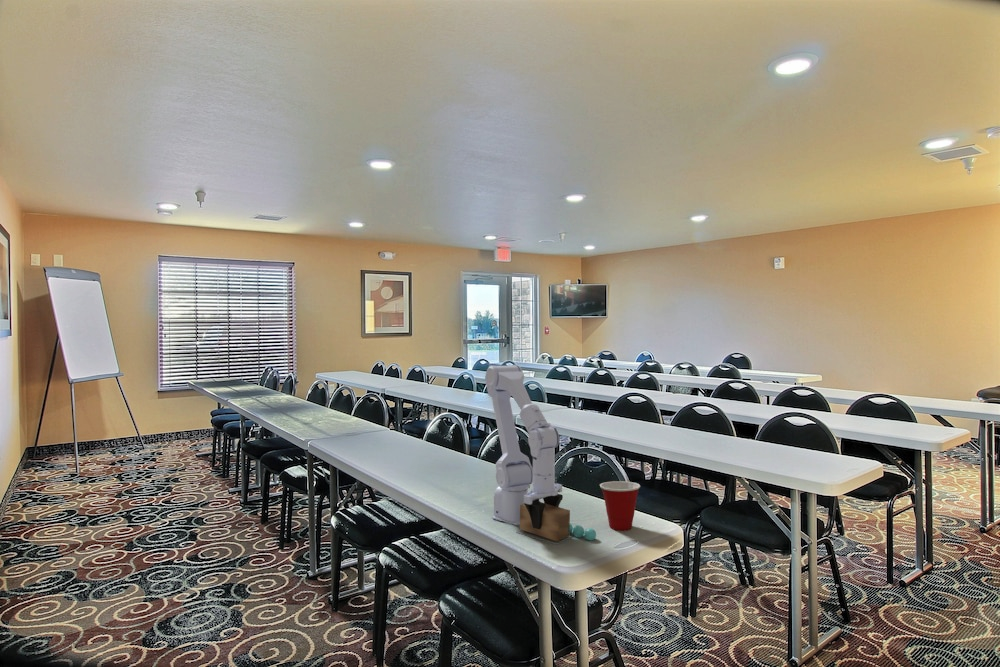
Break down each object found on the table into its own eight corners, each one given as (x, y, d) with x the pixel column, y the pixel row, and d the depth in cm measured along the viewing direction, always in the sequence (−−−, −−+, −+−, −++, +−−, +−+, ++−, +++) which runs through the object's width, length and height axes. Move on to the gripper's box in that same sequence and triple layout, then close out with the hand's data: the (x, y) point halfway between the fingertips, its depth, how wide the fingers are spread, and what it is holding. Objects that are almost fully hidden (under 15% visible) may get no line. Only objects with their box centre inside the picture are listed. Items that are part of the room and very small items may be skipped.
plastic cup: (622, 518, 158) (621, 476, 158) (648, 530, 149) (648, 485, 148) (591, 525, 153) (591, 481, 153) (617, 537, 143) (617, 491, 143)
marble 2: (570, 537, 144) (570, 525, 144) (576, 534, 146) (576, 522, 146) (580, 540, 142) (580, 528, 142) (586, 536, 144) (586, 525, 144)
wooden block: (519, 529, 147) (520, 504, 146) (532, 523, 151) (532, 499, 151) (557, 541, 139) (558, 515, 139) (569, 535, 143) (570, 510, 143)
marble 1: (559, 534, 146) (559, 522, 146) (565, 531, 148) (565, 519, 148) (568, 536, 144) (568, 525, 144) (575, 533, 146) (575, 522, 146)
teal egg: (582, 540, 142) (582, 528, 142) (588, 537, 144) (588, 525, 144) (592, 543, 140) (592, 531, 140) (598, 540, 142) (598, 528, 142)
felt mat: (515, 533, 146) (515, 532, 146) (531, 526, 152) (531, 524, 152) (556, 545, 138) (556, 544, 138) (572, 537, 144) (572, 536, 143)
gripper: (539, 481, 137) (539, 536, 137) (571, 470, 148) (571, 520, 148) (517, 476, 141) (517, 529, 141) (549, 466, 152) (550, 515, 152)
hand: (543, 525), depth 145 cm, fingers closed on wooden block, 6 cm apart
